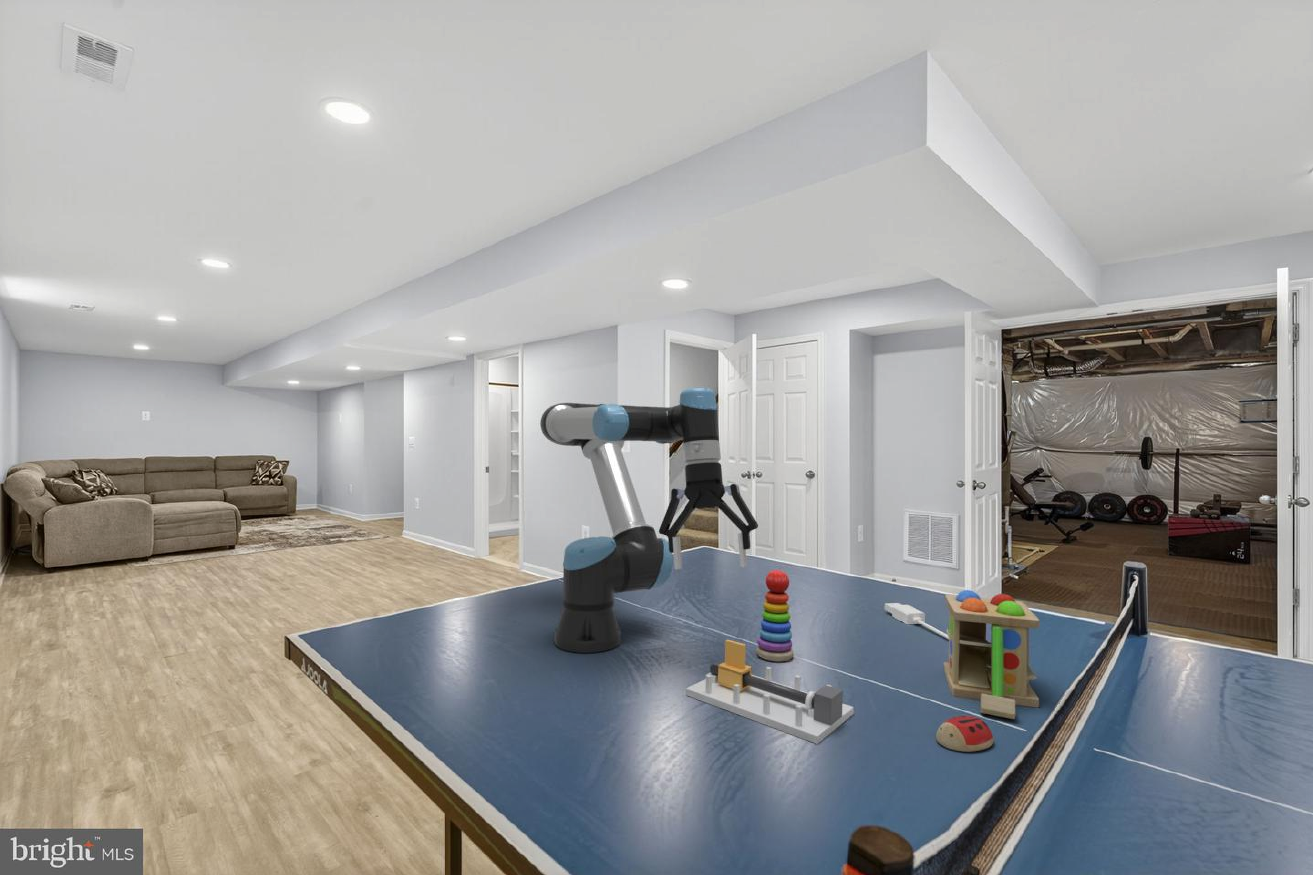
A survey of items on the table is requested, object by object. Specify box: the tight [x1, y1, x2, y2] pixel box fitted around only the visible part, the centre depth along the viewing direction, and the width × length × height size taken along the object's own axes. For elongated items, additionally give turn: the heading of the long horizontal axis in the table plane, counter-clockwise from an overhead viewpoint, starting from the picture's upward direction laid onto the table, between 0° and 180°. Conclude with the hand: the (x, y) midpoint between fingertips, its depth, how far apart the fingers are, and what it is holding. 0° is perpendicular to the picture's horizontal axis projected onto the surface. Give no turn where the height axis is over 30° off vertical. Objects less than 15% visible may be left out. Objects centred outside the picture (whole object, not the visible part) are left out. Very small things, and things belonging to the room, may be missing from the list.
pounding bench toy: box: [943, 589, 1040, 720], centre depth 114 cm, size 23×14×18 cm, turn 161°
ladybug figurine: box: [935, 715, 995, 753], centre depth 96 cm, size 7×10×4 cm
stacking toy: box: [755, 569, 795, 662], centre depth 132 cm, size 8×8×19 cm
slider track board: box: [685, 663, 855, 745], centre depth 108 cm, size 26×14×6 cm, turn 49°
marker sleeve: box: [717, 639, 753, 692], centre depth 113 cm, size 5×4×8 cm
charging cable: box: [884, 602, 949, 640], centre depth 152 cm, size 5×32×3 cm, turn 12°
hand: (710, 567), depth 122 cm, fingers open, 13 cm apart
